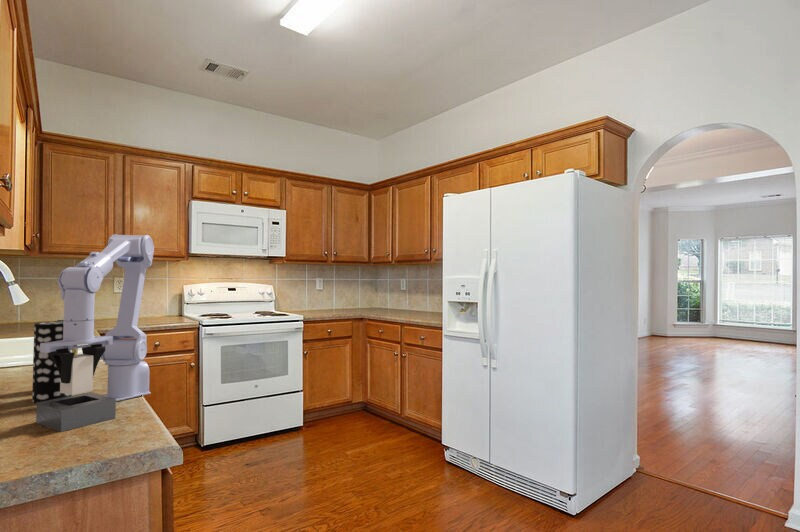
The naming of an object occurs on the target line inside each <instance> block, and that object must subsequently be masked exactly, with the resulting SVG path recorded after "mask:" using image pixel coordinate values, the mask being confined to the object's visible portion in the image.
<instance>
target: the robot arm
mask: <svg viewBox="0 0 800 532" xmlns="http://www.w3.org/2000/svg"><path fill="white" fill-rule="evenodd" d="M154 252H155V245H154V241H153V239H152V237H151V236H150V235H149V234H145V235H143V234H142V235H137V234H136V235H135V234H115V233H114V234H112V235H110V237H108V240H107V245H106V247H104V249H102V251H100V252H99V251H91V252H90V253H89V255H88V256H87V257H86V258H84V259H83V260H82V261H80V262H79V263H78V264H76V265H75V266H71V267H70V266H69V267H66V268H65V269H62V270H61V272H60V273H59V278H58V279H57V285H58V288H59V289H60V298H61V300H62V301H63V319H64V323H63V340H59V341H54V342H47V343H40V352H41V353H49V355H50V357H51V358H52V359H53V361H54V363H55V365H56V367H57V369H58V372H59V375H60V379H61V383H66V384H67V383H70V380H71V366H72V361H73V357H74V354H75V353H72V352H70V351H68V350H69V349H76V348H78V349H81V350H82V351H81V352H82V354H86V355H93V377H95V372H96V369H97V366H98V364H99V362H100V360H102V362H104V365H105V366H107V387H106V388H107V389H106V390H107V392H106V393H107V394H106V393H105V394H103V395H104V396H108V397H112V398H116V402H119V401H124V400H128V399H133V398H137V397H142V396H146V395H150V394H152V393H151V391H150V373H151V372H150V367H149V364H148V363H147V362H146V361H145V360H144V359H145V358H146V356H147V353H148V345H147V338H148V337H147V334H146V333H145V332H143V330H141V329H140V328H139V327H138V323H139V317H140V312H141V311H140V310H141V305H142V304H141V303H142V298H143V290H144V285H145V278H146V271H147V269H148V268H150V267H151V266H152V264H153V260H154V259H153V258H154V254H155V253H154ZM114 263H116V265H117V266H118V267H120V268H123V269H124V277H123V284H122V288H121V296H120V301H119V302H120V303H119V307H118V314H117V318H116V319H117V320H116V325H115V326H114V327H113V328H111V329H110V330H109V331H107V332H105V334H104V335H103V336H95V303H96V302H95V301H96V292H98V291H99V290H100V288H101V285H102V282H103V280H104V278H105V276H107V275H108V274H109V273H110V272H111V271H112V270H113V267H114ZM72 345H77V346H72ZM71 346H72V347H71ZM139 392H140V393H139ZM141 395H142V396H141Z"/></svg>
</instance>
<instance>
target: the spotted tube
mask: <svg viewBox="0 0 800 532" xmlns="http://www.w3.org/2000/svg"><path fill="white" fill-rule="evenodd" d="M57 321H58V320H57ZM57 321H45V322H44V321H43V322H35V323H34V325H33V328H34V329H33V355H32V356H33V359H32V360H33V361H32V362H33V363H32V390H31V391H32V394H31V396H32V397H31V402H32V403H34V404H37V402H42V401H47V400H53V399H58V398H63V397H68V396H73V395H69V394H64V393H60V375H59V372H58V369H57V367H56V365H55V363H54V361H53V359H52V358H51V357H50V355H49V353H41V352H40V343H47V342H54V341H59V340H63V323H64V321H58V322H57ZM72 346H73V345H72ZM72 346H71V347H72ZM68 351H70V352H72V353H73V349H69V350H68Z"/></svg>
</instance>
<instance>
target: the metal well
mask: <svg viewBox="0 0 800 532" xmlns="http://www.w3.org/2000/svg"><path fill="white" fill-rule="evenodd" d="M104 395H105V394H99V393H95V392H92V391H89V392H84V393H79V394H75V395H72V396H68V397H63V398H58V399H53V400H47V401H42V402H37V403H36V413H35V415H36V416H35V423H36V424H37V425H40V426H43V427H46V428H48V427H49V429H52V430H55V431H56V432H57V431H58V432H61V433H62V432H66V431H69V430H73V429H78V428H82V427H86V426H90V425H94V424H99V423H102V422H105V421H109V420H113V419H114V420H115V419H116V415H117V414H116V408H117V407H116V406H117V401H116V398H112V397H108V396H104Z"/></svg>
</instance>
